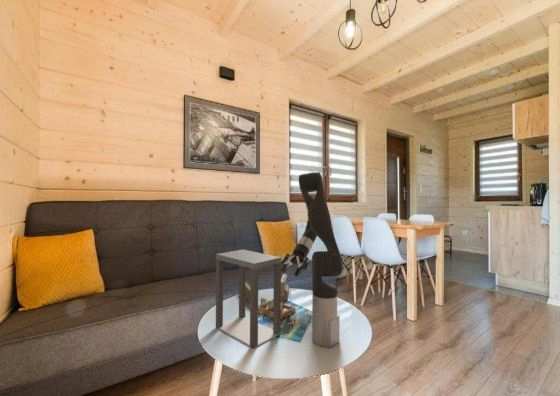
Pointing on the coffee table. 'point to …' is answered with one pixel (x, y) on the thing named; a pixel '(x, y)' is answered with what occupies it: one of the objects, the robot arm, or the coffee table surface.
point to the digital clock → (285, 287)
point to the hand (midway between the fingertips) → (288, 273)
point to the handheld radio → (247, 291)
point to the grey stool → (243, 326)
